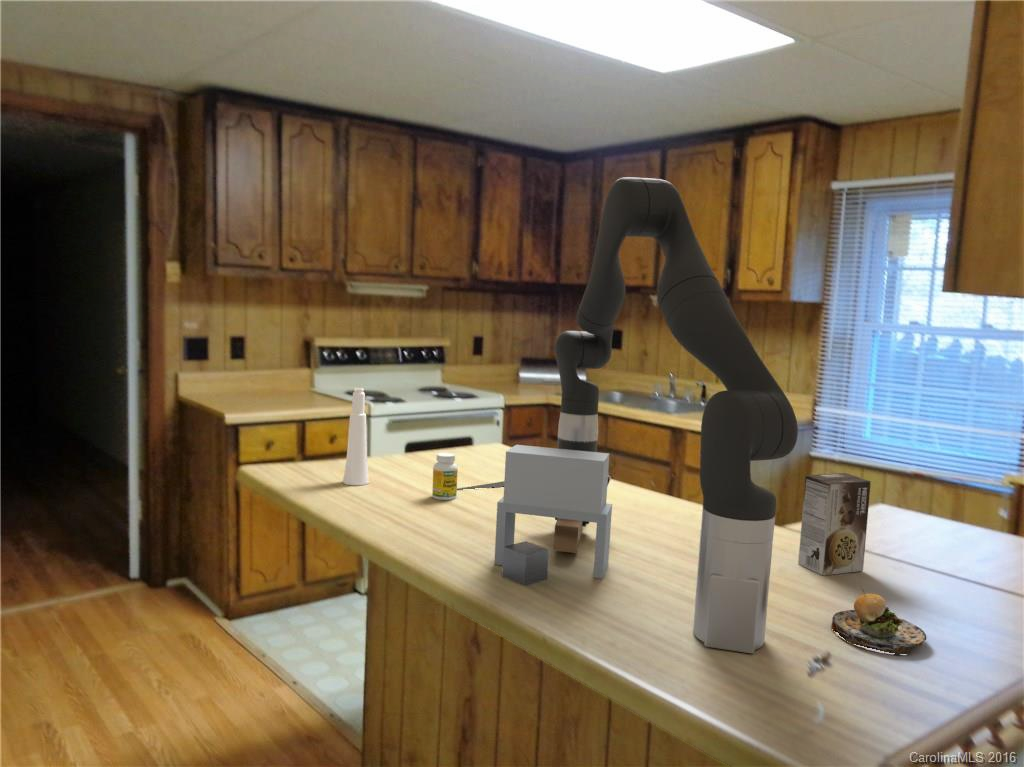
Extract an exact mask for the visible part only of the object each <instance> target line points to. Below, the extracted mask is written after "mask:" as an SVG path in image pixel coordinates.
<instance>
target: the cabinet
mask: <svg viewBox="0 0 1024 767" xmlns="http://www.w3.org/2000/svg"><path fill="white" fill-rule="evenodd" d="M504 464H505V465H504V466H505V467H504V480H503V481H504V487H503V497H502V498H500V499H499V500H498V501H497V504H496V522H495V523H496V524H495V544H494V546H495V547H494V565H498V566H503V552H504V546H508V545H512V544H515V533H516V532H515V531H516V514H519V515H528V516H537V517H544V518H545V517H546V518H554V519H555V518H561V519H569V520H578V521H586V522H589V523H596V530H595V544H594V546H595V547H594V563H593V578H595V579H602V580H603V579H604V577H605V574H606V571H607V569H608V566H609V560H610V558H609V557H610V544H611V540H610V539H611V531H612V530H611V527H612V516H613V515H612V511H613V504H612V503H607V498H608V497H607V496H608V487H607V484H608V474H609V467H610V466H609V465H610V453H607V452H598V451H597V452H588V451H577V450H567V449H557V447H555V448H554V447H543V446H535V445H523V444H515V445H514V446H512V447H511V448H509V449H508V450H506V451H505V462H504ZM608 485H609V484H608Z"/></svg>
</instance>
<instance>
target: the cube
mask: <svg viewBox="0 0 1024 767" xmlns="http://www.w3.org/2000/svg"><path fill="white" fill-rule="evenodd" d="M549 550H550V549H549V548H547V547H545V546H544V547H543V546H541V545H538V544H536V543H533V542H530V541H527V540H526V541H525V540H524V541H521V542H516V543H514V544H512V545H508V546H504V552H503V565H502V571H501V572H502V573H501V574H502V576H501V577H502V578H505V579H507V580H509V581H511V582H513V583H516V584H518V585H521V586H523V587H526V586H529V585H533V584H535V583H539V582H543V581H547V580H548V565H549V552H550V551H549Z"/></svg>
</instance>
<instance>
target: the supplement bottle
mask: <svg viewBox="0 0 1024 767" xmlns="http://www.w3.org/2000/svg"><path fill="white" fill-rule="evenodd" d="M436 461H437V462H436V463H434V464H433V467H432V497H433V499H435V500H439V501H451V500H452V501H453V500H455V499H456V497H457V494H458V493H457V491H458V490H457V489H458V465H457V464H456V463H455V461H456V454H454V453H450V452H440V453H436Z"/></svg>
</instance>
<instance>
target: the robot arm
mask: <svg viewBox="0 0 1024 767" xmlns="http://www.w3.org/2000/svg"><path fill="white" fill-rule="evenodd" d="M694 231H695V230H694V229H693V225H692V224H691V220H690V218H689V216H688V213H687V210H686V207H685V204H684V202H683V200H682V197H681V195H680V193H679V191H678V190H677V188H676V186H675V185H673V183H671V182H670V181H668V180H664V179H661V178H650V177H649V178H648V177H633V176H632V177H631V176H628V177H627V176H626V177H620V178H618V179H616V180H615V181H614V182H613V183H612V185H611V187H610V188H609V190H608V193H607V196H606V198H605V203H604V206H603V208H602V214H601V220H600V225H599V230H598V235H597V237H596V238H597V239H596V245H595V249H594V250H595V251H594V257H593V261H592V262H593V263H592V267H591V271H590V276H589V279H588V283H587V285H586V288H585V290H584V294H583V296H582V299H581V301H580V304H579V307H578V309H577V313H576V315H575V316H576V323H577V325H578V327H579V328H581V330H565V331H562V332H561V333H560V334H559V336H558V337H557V338H556V340H555V344H554V355H555V360H556V365H557V369H558V372H559V379H560V386H561V403H560V414H559V420H558V428H557V429H558V430H557V446H556V449H567V450H577V451H588V452H598V451H597V450H598V437H599V419H598V417H599V416H598V414H599V399H600V398H599V397H600V389H599V386H598V385H597V384H596V383H595V382H592V381H590V380H589V381H587V380H584V379H581V378H580V377H579V375H578V372H577V369H580V370H581V369H582V370H583V369H586V370H587V369H589V370H598V369H602V368H604V367H605V366H606V365H607V364H608V363H609V361H610V359H611V357H612V346H613V345H612V344H613V334H614V329H615V323H616V320H617V318H618V316H619V314H620V312H621V310H622V307H623V305H624V302H625V298H626V282H625V281H626V280H625V277H624V273H623V270H622V266H621V262H620V256H619V254H620V249H621V247H622V245H623V243H624V240H625V239H626V237H637V238H639V237H640V238H641V237H642V238H648V237H649V238H653V239H655V241H657V242H658V244H659V246H660V248H661V250H662V253H663V255H664V259H665V260H664V265H663V268H662V270H661V273H660V276H659V279H658V284H657V289H656V299H657V303H658V307H659V310H660V311H661V314H662V316H663V318H664V320H665V323H666V325H667V328H668V329H669V331H670V333H671V335H672V336H673V338H674V339H675V340H676V341H677V343H679V345H681V347H683V348H684V349H685V350H686V351H687V352H688V353H689V354H690V355H692V357H694V358H695V359H696V360H697V361H698V362H700V363H701V364H702V365H703V366H704V367H705V368H707V369H708V370H709V371H710V372H712V373H713V374H714V375H715V376H716V377H717V379H719V380H720V382H721V383H722V384H723V386H724V387H725V389H726V390H720V391H717V392H716V393H714V394H713V395H711V397H710V398H709V399H708V401H707V403H706V405H705V406H704V410H703V413H702V418H701V426H700V454H699V456H700V457H699V458H700V459H699V464H700V465H699V483H700V488H701V492H702V511H701V523H700V526H701V527H700V535H699V537H700V538H699V549H698V562H697V573H696V574H697V575H696V587H695V588H696V589H695V602H694V614H693V616H694V618H693V626H692V627H693V629H692V632H693V635H694V636H695V637H696V638H697V639H698V640H700V641H701V642H702V643H703V644H704V645H703V646H704V647H707V648H712V649H713V648H714V649H721V650H726V651H731V652H732V651H733V652H741V653H748V654H755V650H758V649H760V648H761V647H763V646H764V645H765V641H766V640H765V638H766V628H767V625H766V624H767V615H768V614H767V613H768V604H769V603H768V602H769V590H770V580H771V578H770V577H771V565H772V552H773V543H774V542H773V541H774V531H775V523H776V522H775V520H776V511H777V497H776V495H775V493H774V492H772V490H770V489H768V488H766V487H764V486H760V485H758V484H755V483H754V482H753V481H752V474H751V461H752V462H755V461H757V462H759V461H771V460H772V461H773V460H778V459H781V458H785V457H786V456H787V455H789V454H791V453H792V451H793V450H794V449H795V446H796V443H797V440H798V435H799V434H798V431H799V426H798V420H797V416H796V414H795V411H794V408H793V406H792V405H791V402H790V400H789V399H788V397H787V395H786V394H785V391H783V390H782V388H781V386H780V385H779V384H778V382H777V380H776V379H775V378H774V376H773V375H772V373H771V372H770V370H769V369H768V368H767V366H766V365H765V363H764V362H763V360H762V359H761V357H760V355H759V353H757V351H756V350H755V348H754V346H753V344H752V342H751V340H750V339H749V336H748V335H747V333H746V331H745V330H744V327H743V326H742V324H741V323H740V321H739V318H738V317H737V316H736V314H735V312H734V309H733V308H732V304H731V303H730V300H729V298H728V297H727V294H726V293H725V291H724V289H723V287H722V285H721V283H720V280H718V278H717V276H716V275H715V273H714V271H713V269H712V267H711V266H710V264H709V262H708V260H707V258H706V255H705V253H704V251H703V249H702V247H701V246H700V243H699V241H698V238H697V237H696V234H695V232H694ZM611 480H612V477H611V475H610V474H609V473H608V484H607V488H608V486H609V484H610V481H611ZM554 520H555V521H557V518H554ZM589 524H590V522H586V521H582V526H583V527H587V525H589ZM583 527H582V528H583Z"/></svg>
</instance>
